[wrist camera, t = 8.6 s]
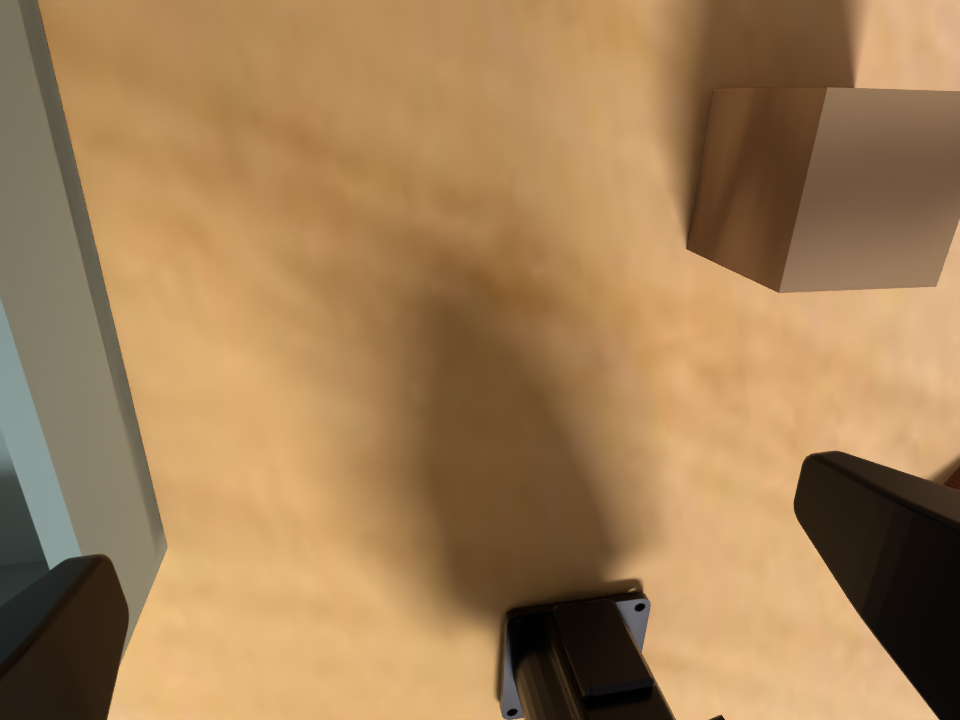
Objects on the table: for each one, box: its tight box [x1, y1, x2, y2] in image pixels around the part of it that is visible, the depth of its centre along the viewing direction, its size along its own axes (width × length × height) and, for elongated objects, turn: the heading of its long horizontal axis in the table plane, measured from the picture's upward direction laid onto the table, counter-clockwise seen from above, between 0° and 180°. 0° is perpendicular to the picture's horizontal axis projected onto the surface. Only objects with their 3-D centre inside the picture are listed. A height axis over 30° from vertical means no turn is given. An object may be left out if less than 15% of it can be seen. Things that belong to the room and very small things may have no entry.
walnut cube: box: [687, 87, 960, 293], centre depth 18 cm, size 5×5×5 cm
